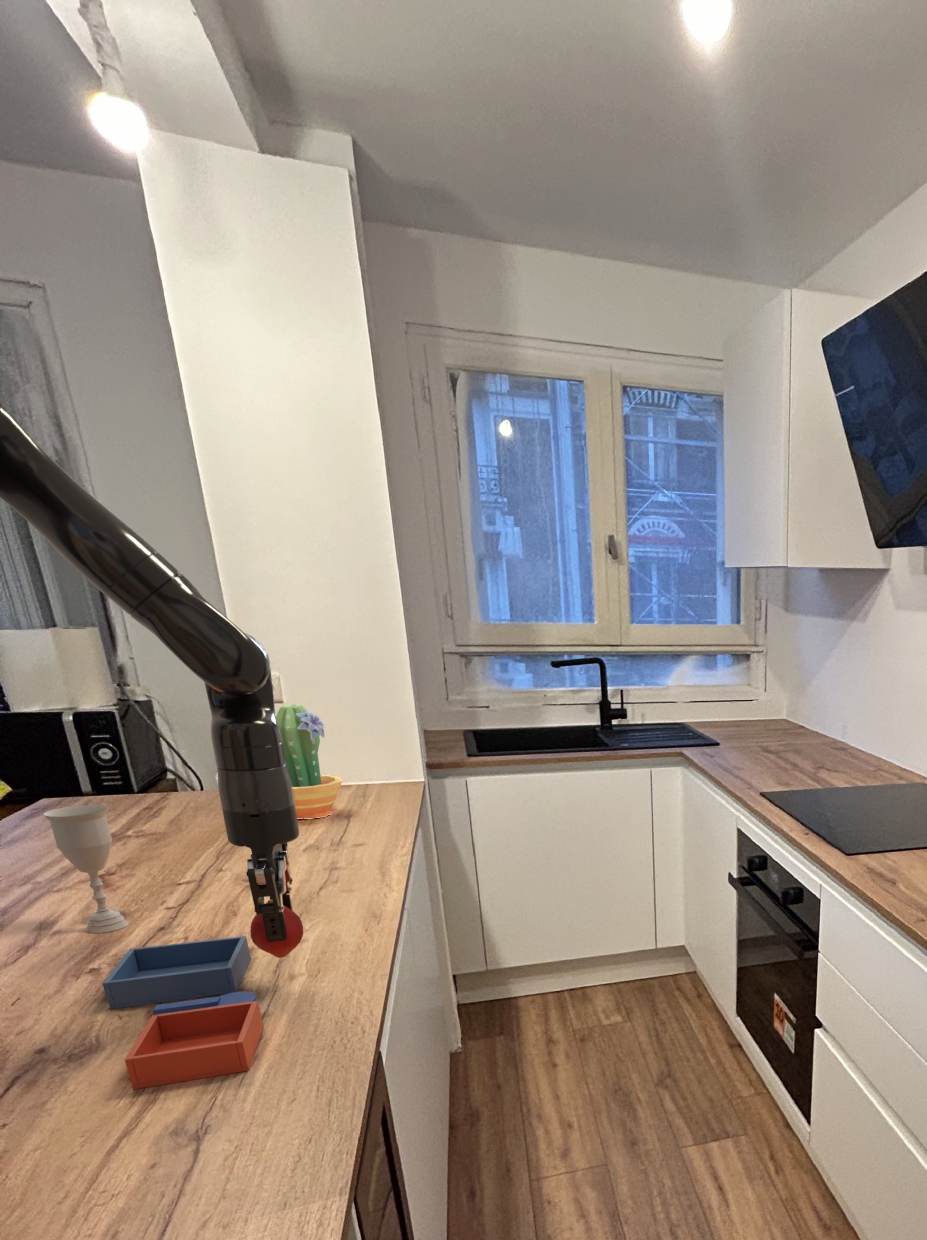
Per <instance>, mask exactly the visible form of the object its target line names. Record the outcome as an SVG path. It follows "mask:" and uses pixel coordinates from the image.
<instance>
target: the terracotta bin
mask: <svg viewBox="0 0 927 1240" xmlns="http://www.w3.org/2000/svg"><path fill="white" fill-rule="evenodd" d="M263 1029H264V1023H263V1018H262V1013H261V1009H260V1005H259V1001H258V1000H257V1001H253V1002H244V1003H237V1004H230V1005H222V1006H215V1007H208V1008H201V1009H193V1010H186V1011H179V1012H171V1013H164V1014H159V1015H158V1014H157V1015H154V1014H152V1015H151V1016H150V1018H149V1019H148V1021H147V1023H146V1025H145V1027H144V1028H143V1030H142V1031H141V1033H140V1034H139V1036H138V1038H137V1039H136V1041H135V1042H134V1044H133V1046H132V1048H131V1049H130V1051H129V1052H128V1054H127V1056H126V1057H125V1059H124V1063H125V1066H126V1069H127V1072H128V1073H127V1074H128V1077H129V1080H130V1084H131V1088H132V1090H139V1089H145V1088H150V1087H158V1086H163V1085H169V1084H175V1083H182V1082H187V1081H194V1080H199V1079H200V1080H201V1079H206V1078H210V1077H219V1076H224V1075H228V1074H237V1073H241V1072H248V1071H250V1067H251V1065H252V1062H253V1059H254V1057H255V1053H256V1050H257V1048H258V1044H259V1042H260V1039H261V1036H262V1032H263Z"/></svg>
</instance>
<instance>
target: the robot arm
mask: <svg viewBox="0 0 927 1240" xmlns="http://www.w3.org/2000/svg"><path fill="white" fill-rule="evenodd" d="M0 499H1V500H2V501H4V502H5V503H6V504H7V505H8V506H9V507H11V508H12V509H13V510H14V511H15V512H17V513H18V514H19V515H20V516H21V517H22V518H23V519H25V520H26V522H28V523H29V524H30V525H31V526H32V527H33V528H34V529H35V530H36V531H37V532H38V533H39V534H40V535H41V536H42V537H43V538H44V539H45V540H46V541H47V542H48V543H49V544H50V545H51V546H52V547H53V548H54V549H55V550H56V551H57V552H58V553H59V554H60V555H61V556H62V557H63V558H64V559H65V560H66V561H67V562H68V563H69V564H70V565H71V566H72V567H73V568H74V569H76V570H77V571H78V572H79V574H81V575H82V576H83V577H84V578H85V579H86V580H88V582H90V583H91V584H92V585H93V586H94V587H96V589H98V590H99V591H100V592H101V593H102V594H103V595H105V597H107V598H108V599H109V600H111V601H112V602H113V603H114V604H115V605H116V606H118V607H119V609H121V610H122V611H124V612H125V613H126V614H127V615H129V616H130V617H131V618H132V619H133V620H135V622H137V623H138V624H140V625H141V626H143V627H144V628H145V629H146V630H148V631H149V632H151V633H152V634H153V635H154V636H155V637H157V639H159V641H160V642H161V643H162V644H163V645H164V646H165V647H166V649H168V650H169V651H170V652H171V653H172V654H173V655H174V656H176V658H177V659H178V660H179V661H180V662H182V663H183V664H184V665H185V666H186V667H187V668H188V669H189V670H190V671H191V672H192V673H193V674H194V675H196V676H197V677H198V678H199V679H200V680H201V681H202V682H204V687H205V691H206V695H207V700H208V705H209V709H210V714H211V720H210V721H211V722H210V736H211V744H212V748H213V753H214V759H215V765H216V770H217V788H218V794H219V795H218V796H219V799H220V805H221V810H222V815H223V820H224V826H225V831H226V836H227V841H228V842H229V844H231V845H233V846H236V847H241V848H242V847H245V848H248V849H250V852H251V853H250V858H247V860H246V865H247V870H246V877H247V879H248V883H249V889H250V892H251V896H252V903H253V907H254V912H255V915H256V914H257V915H258V914H262V918H263V924H264V929H265V935H266V940H267V941H268V942H277V941H284V940H286V938H287V930H286V924H285V918H284V912H283V909H284V906H286V907H288V908H289V909H290V910H292V911H293V904H292V899H291V898H292V897H291V894H292V886H291V885H292V884H293V878H292V870H291V866H290V854H289V851H288V843H291V842H293V841H295V840H296V839H298V837H299V836H300V828H299V822H298V820H297V815H296V809H295V803H294V797H293V791H292V785H291V780H290V777H289V774H288V771H287V767H286V764H285V763H286V762H285V755H284V749H283V743H282V738H281V733H280V730H279V726H278V723H277V720H276V709H275V706H276V705H275V698H274V687H273V678H272V669H271V661H270V657H269V654H268V651H267V650H266V648H265V647H264V645H263V644H262V643H261V642H260V641H259V640H258V639H257V638H255V637H254V636H253V635H251V634H249V633H248V632H245V631H244V630H242V628H240V627H238V626H237V625H236V624H235V623H234V622H232V621H231V620H230V619H229V618H228V617H227V616H226V615H225V614H224V613H222V612H221V611H220V610H219V609H218V608H216V607H215V606H214V605H213V604H212V603H210V602H209V601H208V600H207V599H206V598H205V597H204V596H203V594H201V593H202V592H200V590H199V589H198V588H197V587H196V586H195V585H194V584H193V582H192V581H191V580H190V579H188V577H187V576H186V575H184V574H183V573H182V572H181V571H180V570H179V569H178V568H177V567H176V566H175V565H173V564H172V563H171V562H170V561H169V560H168V559H167V558H166V557H165V556H164V555H162V554H161V552H159V551H158V550H157V549H156V548H155V547H154V546H153V545H152V544H150V543H149V542H148V541H146V539H144V538H143V537H142V536H141V535H140V534H139V533H138V532H136V531H135V530H134V529H133V528H131V527H130V526H129V524H127V523H126V522H125V521H123V520H122V519H121V518H120V517H119V516H117V515H116V514H115V513H113V512H112V510H110V509H109V508H108V507H106V506H105V505H104V504H102V503H101V502H100V501H99V500H98V499H96V497H94V496H93V495H92V494H91V493H90V492H89V491H87V490H86V489H85V488H84V487H82V486H81V485H80V483H78V482H77V481H76V480H74V478H72V477H71V476H70V475H69V473H67V472H66V471H65V470H64V469H63V468H62V467H61V466H60V465H59V464H58V463H57V462H56V461H55V460H54V459H52V458H51V457H50V456H49V454H48V453H47V452H45V450H43V449H42V447H41V446H40V445H39V444H38V443H37V442H36V441H35V440H34V439H33V438H32V437H31V435H30V434H29V433H28V432H27V431H26V430H25V429H24V428H23V426H22V425H21V424H20V423H19V422H18V421H17V419H16V418H15V417H14V415H12V414H11V413H10V411H9V410H8V409H7V408H6V407H5V405H4V404H3V403H2V402H1V401H0ZM267 897H269V900H271V899H272V900H273V903H267V902H266V903H267V904H266V903H265V898H267ZM293 912H294V911H293Z"/></svg>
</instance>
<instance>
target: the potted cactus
mask: <svg viewBox="0 0 927 1240" xmlns="http://www.w3.org/2000/svg"><path fill="white" fill-rule="evenodd" d="M275 716H276V720H277V723H278V726H279V730H280V733H281V738H282V743H283V749H284V755H285V762H286V763H285V764H286V767H287V771H288V774H289V777H290V780H291V785H292V791H293V797H294V803H295V809H296V815H297V818H303V819H304V818H316V817H321V816H326V815H328V814H331V812H332V810H331V809H332V807H333V806H334V805H335V802H336V801H337V796H338V791H339V789H341V788H342V777H340V776H336V775H332V774H331V775H329V774H328V775H327V774H321V769H320V762H319V760H320V759H319V747H320V742H321V738H323V739H324V738H326V737H325V730H324V728H325V724H324V723H323V721H322V720H321V717H319V716H318V715H317V714H314V713H313V712H310V711H309V710H307V709H306V708H305V707H304V706H303V705H296V704H291V705H290V706H288V705H285V704H284V705H282V706H280V707H279V708H278V710H277V713H275ZM320 736H321V738H320Z"/></svg>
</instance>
